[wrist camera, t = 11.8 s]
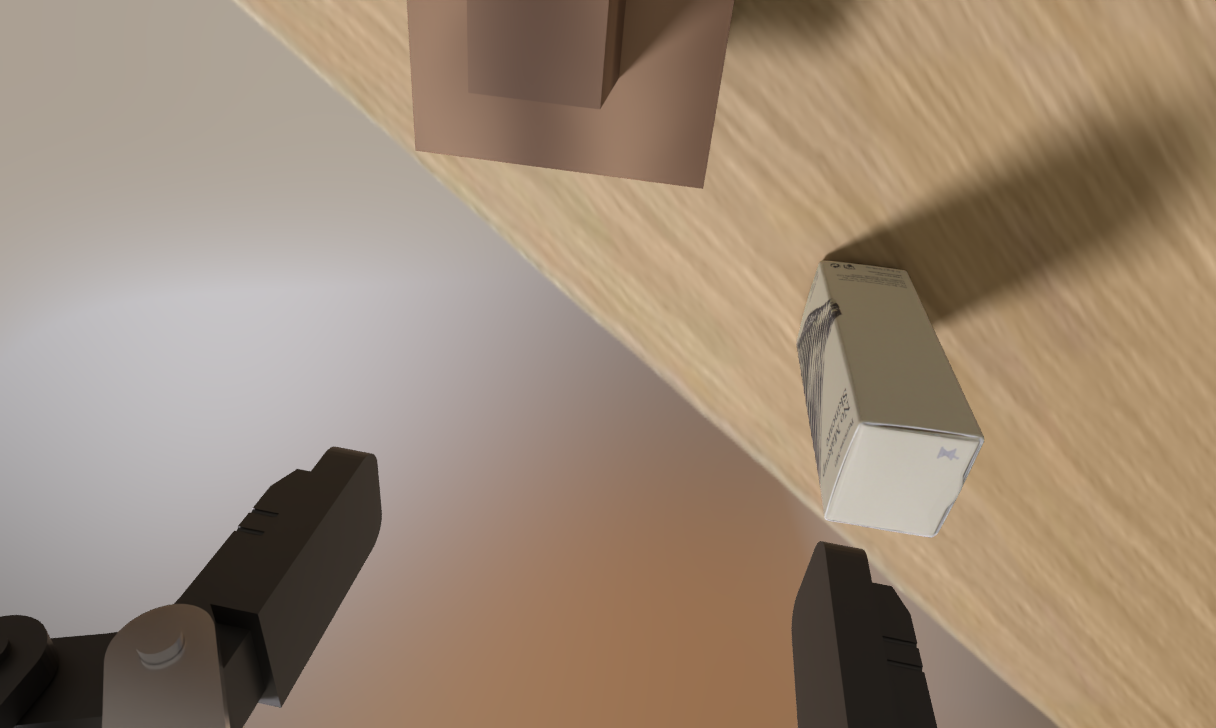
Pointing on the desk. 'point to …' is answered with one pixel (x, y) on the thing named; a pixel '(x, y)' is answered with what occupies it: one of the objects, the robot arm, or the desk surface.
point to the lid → (571, 83)
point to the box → (882, 402)
